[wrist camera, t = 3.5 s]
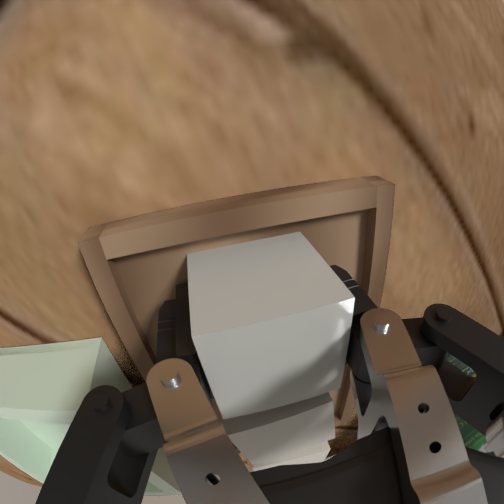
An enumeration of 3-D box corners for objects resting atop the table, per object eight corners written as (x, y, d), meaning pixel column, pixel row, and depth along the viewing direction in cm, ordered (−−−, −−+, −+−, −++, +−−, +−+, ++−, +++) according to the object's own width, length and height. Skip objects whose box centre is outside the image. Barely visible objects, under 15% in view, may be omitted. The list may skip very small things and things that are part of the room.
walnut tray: (377, 175, 11) (394, 184, 10) (343, 409, 19) (349, 421, 18) (88, 228, 9) (78, 242, 8) (198, 445, 17) (200, 458, 16)
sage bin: (101, 337, 11) (86, 410, 8) (178, 447, 17) (183, 494, 14) (-42, 350, 10) (-64, 395, 6) (51, 447, 16) (46, 485, 12)
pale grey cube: (298, 329, 13) (333, 400, 9) (308, 377, 15) (335, 437, 11) (212, 357, 12) (225, 435, 9) (237, 400, 14) (253, 464, 11)
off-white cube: (300, 231, 10) (354, 297, 7) (302, 316, 12) (340, 388, 9) (187, 254, 10) (191, 336, 6) (209, 337, 12) (223, 419, 8)
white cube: (306, 392, 15) (330, 449, 12) (299, 423, 17) (317, 471, 14) (237, 405, 15) (253, 468, 11) (240, 435, 17) (253, 486, 13)
